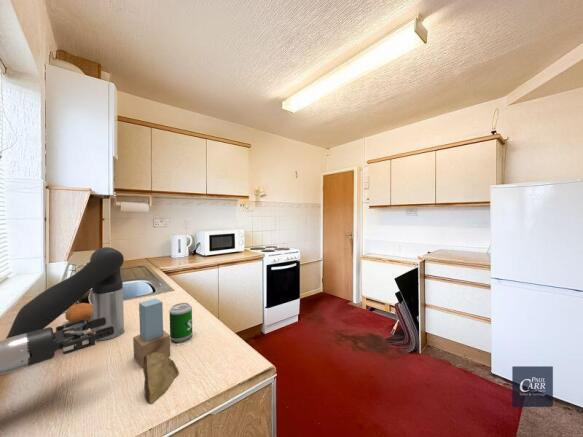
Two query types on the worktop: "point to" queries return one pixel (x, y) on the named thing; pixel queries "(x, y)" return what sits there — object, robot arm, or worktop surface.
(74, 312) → the potato
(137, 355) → the walnut block
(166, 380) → the rock
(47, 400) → the worktop surface
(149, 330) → the blue block
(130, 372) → the worktop surface
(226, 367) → the worktop surface
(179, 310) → the soda can
